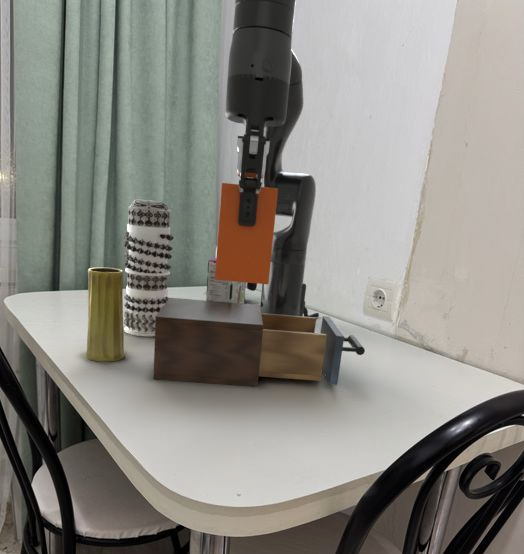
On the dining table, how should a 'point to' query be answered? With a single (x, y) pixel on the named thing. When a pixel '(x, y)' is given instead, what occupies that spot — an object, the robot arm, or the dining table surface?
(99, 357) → the vase
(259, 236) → the orange rectangular prism
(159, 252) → the white patterned cylinder
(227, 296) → the candy bar box
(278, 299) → the robot arm
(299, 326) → the drawer
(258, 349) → the cabinet
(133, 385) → the dining table surface
